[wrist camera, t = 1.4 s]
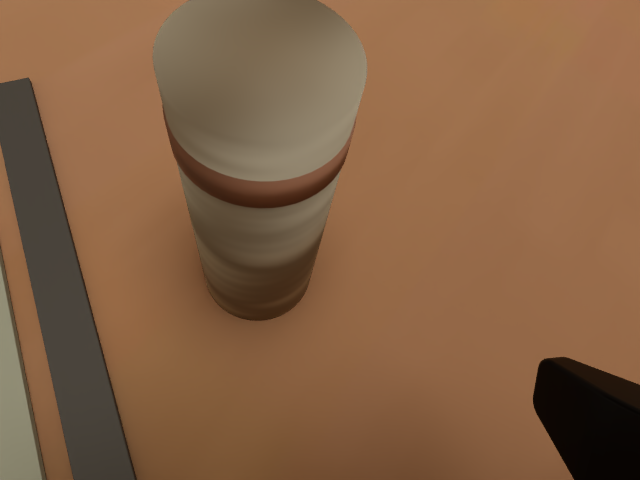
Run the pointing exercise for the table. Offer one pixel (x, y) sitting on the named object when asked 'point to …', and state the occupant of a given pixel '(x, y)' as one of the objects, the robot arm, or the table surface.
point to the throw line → (61, 295)
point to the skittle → (258, 137)
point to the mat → (15, 401)
